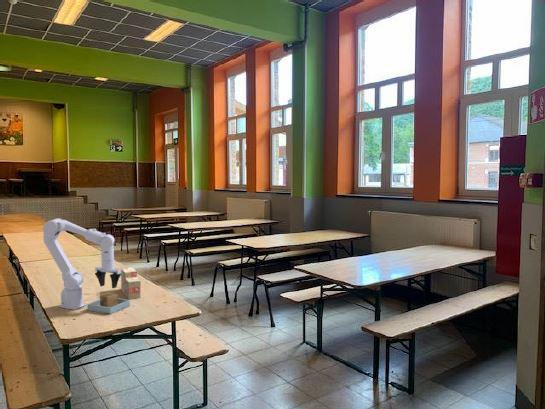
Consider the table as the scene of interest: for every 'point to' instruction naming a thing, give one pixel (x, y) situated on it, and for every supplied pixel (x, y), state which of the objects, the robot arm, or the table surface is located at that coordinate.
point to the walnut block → (109, 300)
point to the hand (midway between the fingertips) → (108, 286)
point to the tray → (107, 310)
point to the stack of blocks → (130, 283)
